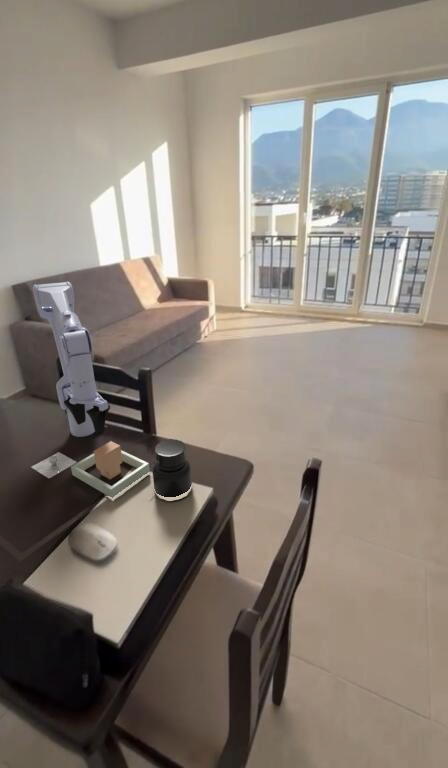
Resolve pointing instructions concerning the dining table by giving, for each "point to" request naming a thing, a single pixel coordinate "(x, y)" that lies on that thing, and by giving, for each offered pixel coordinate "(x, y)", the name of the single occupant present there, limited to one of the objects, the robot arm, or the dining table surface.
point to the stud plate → (53, 465)
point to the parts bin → (104, 487)
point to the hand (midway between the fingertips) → (90, 427)
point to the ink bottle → (171, 469)
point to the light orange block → (108, 459)
